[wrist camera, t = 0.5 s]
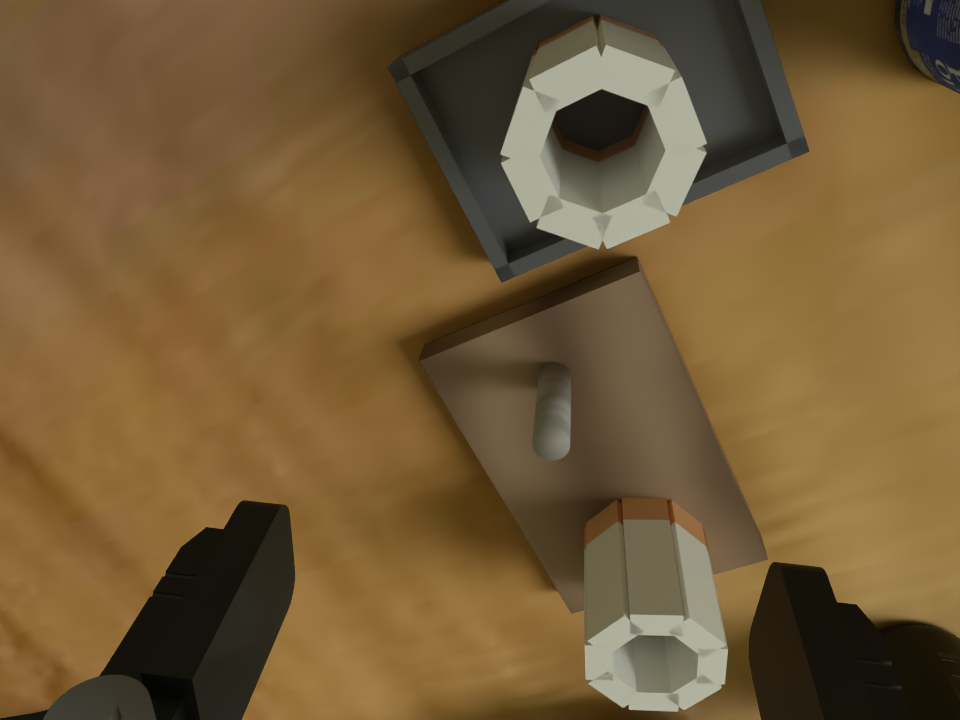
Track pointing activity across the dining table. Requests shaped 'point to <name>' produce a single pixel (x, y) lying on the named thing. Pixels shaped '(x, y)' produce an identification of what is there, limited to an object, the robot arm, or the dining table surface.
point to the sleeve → (619, 167)
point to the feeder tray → (593, 104)
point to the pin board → (589, 420)
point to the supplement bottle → (926, 669)
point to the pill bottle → (931, 38)
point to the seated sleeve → (651, 607)
